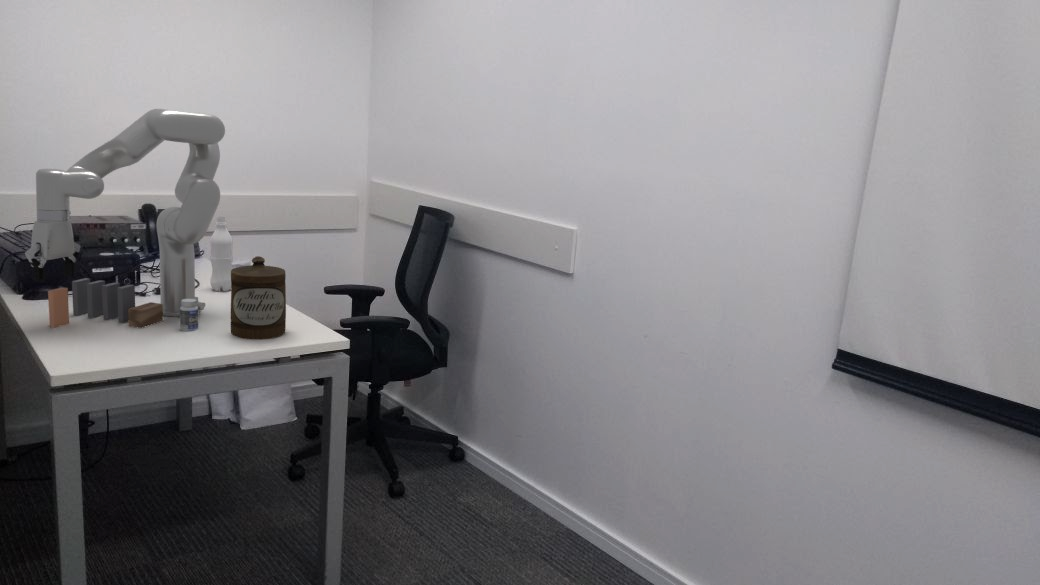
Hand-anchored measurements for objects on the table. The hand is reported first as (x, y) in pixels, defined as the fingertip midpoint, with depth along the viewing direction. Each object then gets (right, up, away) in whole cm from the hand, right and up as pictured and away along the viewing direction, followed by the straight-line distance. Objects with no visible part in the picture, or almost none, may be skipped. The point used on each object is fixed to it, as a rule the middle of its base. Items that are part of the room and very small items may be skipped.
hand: (54, 278), depth 209 cm
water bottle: (+23, -3, +56) cm, 61 cm away
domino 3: (+4, -10, +14) cm, 18 cm away
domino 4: (+9, -11, +13) cm, 19 cm away
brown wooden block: (+19, -12, +11) cm, 26 cm away
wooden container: (+51, -15, +11) cm, 55 cm away
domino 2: (-1, -10, +15) cm, 18 cm away
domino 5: (+13, -12, +12) cm, 22 cm away
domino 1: (-1, -13, +3) cm, 13 cm away
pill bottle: (+32, -14, +9) cm, 37 cm away
